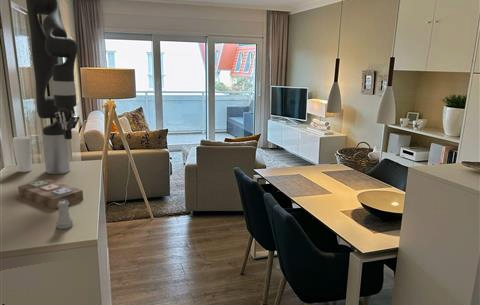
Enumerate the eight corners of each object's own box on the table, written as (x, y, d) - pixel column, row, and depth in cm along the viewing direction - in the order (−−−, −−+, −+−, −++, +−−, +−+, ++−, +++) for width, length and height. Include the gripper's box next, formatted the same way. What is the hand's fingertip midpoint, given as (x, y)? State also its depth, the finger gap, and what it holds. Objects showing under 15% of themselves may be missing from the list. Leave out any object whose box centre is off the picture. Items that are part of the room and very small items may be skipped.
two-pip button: (52, 197, 120) (52, 191, 120) (64, 194, 124) (63, 187, 123) (60, 200, 118) (59, 193, 118) (72, 197, 122) (71, 190, 121)
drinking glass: (25, 173, 150) (22, 139, 147) (12, 172, 151) (8, 138, 148) (37, 169, 157) (34, 136, 153) (24, 168, 158) (21, 135, 154)
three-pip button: (29, 189, 127) (29, 183, 127) (41, 186, 131) (41, 180, 130) (36, 192, 125) (36, 185, 124) (48, 188, 129) (48, 182, 128)
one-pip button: (41, 193, 124) (40, 187, 123) (52, 190, 127) (52, 183, 127) (48, 196, 122) (47, 189, 121) (60, 192, 125) (59, 186, 125)
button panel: (19, 195, 125) (18, 186, 125) (48, 187, 135) (47, 179, 134) (53, 209, 115) (52, 199, 114) (83, 199, 124) (82, 190, 124)
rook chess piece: (60, 223, 105) (58, 198, 104) (75, 223, 106) (73, 198, 104) (53, 229, 101) (51, 204, 99) (69, 229, 102) (67, 204, 100)
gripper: (84, 94, 128) (87, 140, 133) (64, 91, 135) (67, 135, 139) (65, 95, 122) (69, 143, 127) (44, 92, 129) (48, 137, 133)
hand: (68, 138), depth 133 cm, fingers closed
